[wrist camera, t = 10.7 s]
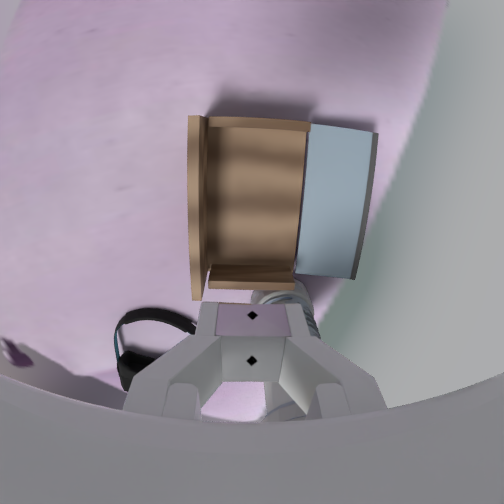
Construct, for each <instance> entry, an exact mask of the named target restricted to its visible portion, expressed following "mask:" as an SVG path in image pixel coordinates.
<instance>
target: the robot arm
mask: <svg viewBox="0 0 504 504" xmlns="http://www.w3.org/2000/svg"><path fill="white" fill-rule="evenodd" d="M222 381H223V382H245V381H252V382H279V384H280V385H281V386H282V387H283V389H284V390H285V391H286V392H287V393H288V394H289V396H290V397H291V398H292V399H293V400H294V401H295V402H296V403H297V405H298V406H299V407H300V408H301V409H302V410H303V411H304V412H305V414H306V418H305V420H302V421H285V422H215V421H202V415H201V408H202V407H203V405H204V404H205V403H206V402H207V401H208V399H209V398H210V397H211V396H212V395H213V393H214V392H215V391H216V390H217V388H218V387H219V386H220V385H221V384H222ZM0 504H504V373H501V374H499V375H497V376H494V377H492V378H489V379H487V380H484V381H482V382H479V383H476V384H474V385H471V386H468V387H465V388H462V389H459V390H457V391H453V392H450V393H447V394H444V395H440V396H437V397H433V398H430V399H426V400H423V401H419V402H415V403H411V404H407V405H402V406H398V407H393V408H389V409H388V408H387V406H386V404H385V401H384V399H383V397H382V394H381V392H380V390H379V387H378V385H377V383H376V380H375V378H374V377H373V376H371V375H370V374H369V373H367V372H366V371H364V370H363V369H361V368H360V367H358V366H357V365H355V364H354V363H353V362H351V361H350V360H348V359H347V358H346V357H344V356H343V355H341V354H340V353H338V352H337V351H336V350H334V349H333V348H331V347H330V346H329V345H327V344H326V343H324V342H323V341H322V340H320V339H319V338H317V337H316V336H311V335H310V331H309V328H308V325H307V322H306V319H305V315H304V312H303V309H302V306H301V304H299V303H295V304H245V303H224V302H219V303H218V302H202V303H201V307H200V311H199V316H198V321H197V326H196V331H195V335H189V336H187V337H186V338H185V339H183V340H182V341H181V342H179V343H178V344H177V345H175V346H174V347H173V348H171V349H170V350H169V351H167V352H166V353H165V354H163V355H162V356H161V357H159V358H158V359H157V360H155V361H154V362H153V363H151V364H150V365H148V366H147V367H146V368H144V369H143V370H142V371H140V372H139V373H138V374H136V375H135V376H134V377H133V380H132V383H131V385H130V388H129V391H128V394H127V397H126V400H125V403H124V406H123V409H122V410H117V409H112V408H107V407H103V406H99V405H94V404H90V403H86V402H82V401H78V400H75V399H71V398H67V397H64V396H61V395H57V394H54V393H51V392H48V391H45V390H42V389H39V388H36V387H33V386H30V385H27V384H25V383H22V382H19V381H17V380H14V379H12V378H9V377H7V376H5V375H2V374H0Z"/></svg>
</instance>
